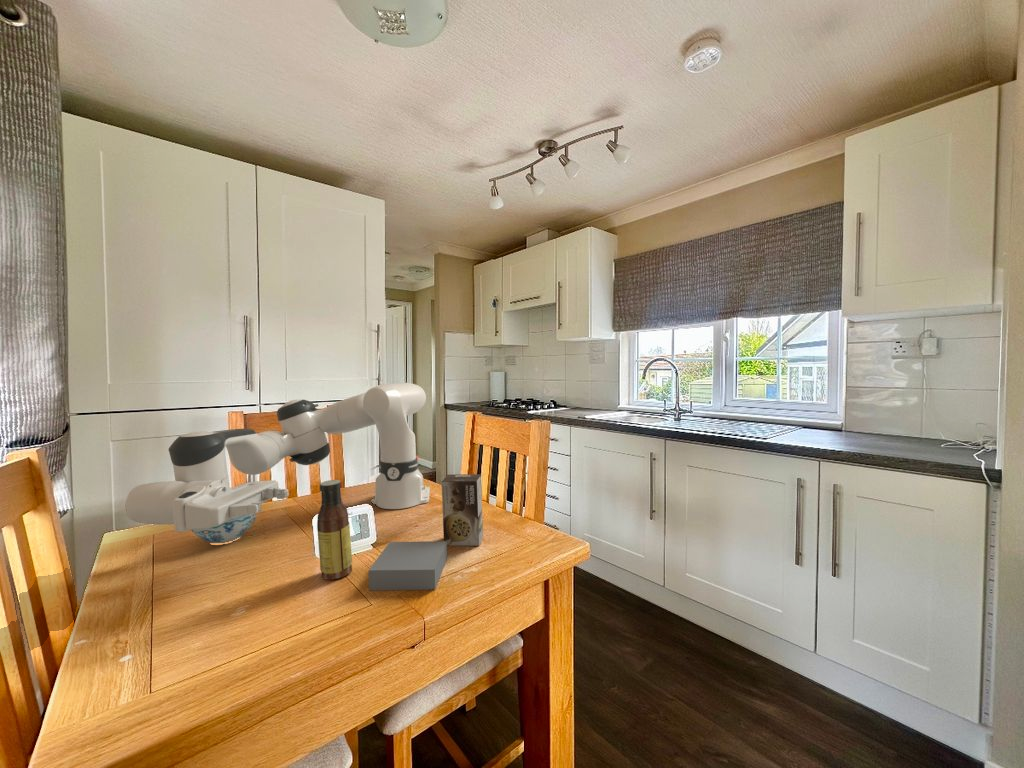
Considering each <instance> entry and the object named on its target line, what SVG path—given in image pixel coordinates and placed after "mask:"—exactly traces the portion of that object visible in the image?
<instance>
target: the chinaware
mask: <svg viewBox="0 0 1024 768" xmlns="http://www.w3.org/2000/svg"><path fill="white" fill-rule="evenodd" d="M257 515H258V513H256V514H247V515H243V516H238V517H235V518H233V519H231V520H229V521H227V522H225V523H223V524H221V525H219V526H216V527H212V528H207V529H193V530H191V531H192V533H193V534H194V535H195V536H196V537H198V538H199V539H200V540H203V541H205V542H210V543H225V542H229V541H233V540H235V539H237V538H239V537H240V536H241V537H242V535H244V533H246V532H247V531H248V530H249V528H250V527H251V526H252V525H253V523H254V522H255V520H256V518H257Z"/></svg>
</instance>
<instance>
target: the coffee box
mask: <svg viewBox="0 0 1024 768" xmlns="http://www.w3.org/2000/svg"><path fill="white" fill-rule="evenodd" d="M440 485H441V498H442V499H441V500H442V501H441V502H442V503H441V505H442V528H443V529H442V533H443V541H447V546H457V547H458V546H461V547H462V546H465V547H467V546H468V547H472V546H473V547H479V546H480V545H481V544H482V543H481V542H482V540H483V538H484V523H483V522H484V521H483V520H484V518H483V517H484V516H483V493H482V492H483V491H482V473H480V474H479V473H477V474H473V473H472V474H467V473H466V474H465V473H464V474H447V475H445V477H444V478H443V480H441V482H440Z"/></svg>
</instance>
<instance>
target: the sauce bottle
mask: <svg viewBox="0 0 1024 768" xmlns="http://www.w3.org/2000/svg"><path fill="white" fill-rule="evenodd" d="M341 481H342V480H340V479H331V480H329V479H328V480H325V481H322V482H321V483H320V484H319V491H320V493H321V495H320V496H321V505H320V509H319V512H318V514H317V523H316V524H317V525H316V527H317V528H316V530H317V541H318V542H317V544H318V553H319V555H318V556H319V566H320V567H319V568H320V569H319V570H320V572H321V577H322V578H323V579H325V580H330V581H334V580H338V579H342V578H345V577H347V576H349V574H350V573H351V572H352V571H353V570H352V569H353V565H352V564H353V554H352V542H351V527H350V521H349V512H348V508H347V507H346V505H345V504H344V503H343V501H342V499H343V498H342V495H341V494H342V493H341V488H342V483H341Z"/></svg>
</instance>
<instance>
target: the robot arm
mask: <svg viewBox="0 0 1024 768" xmlns="http://www.w3.org/2000/svg"><path fill="white" fill-rule="evenodd" d="M426 402H427V394H426V391H425V390H424V389H423V388H422V387H421V386H420V385H418V384H416V383H412V382H396V383H393V382H392V383H383V384H378V385H376V386H374V387H371V388H370V389H368V390H367V391H366V392H363V393H360V394H357V395H354V396H351V397H346V398H345V399H341V400H339V401H337V402H334V403H333V404H330V405H329V406H327V407H324V408H322V409H318V407H320V406H319V404H318V403H316V404H314V403H313V402H311V401H309V400H307V399H293V400H289V401H287V402H285V403H284V404H282V406H280V407H279V408H278V409H277V411H276V417H277V421H278V422H279V424H280V427H281V430H282V431H280V430H272V429H271V430H265V431H261V432H256V431H255V430H254V429H251V428H234V429H224V430H223V429H222V430H217V431H205V430H204V431H203V430H201V431H193V432H188V433H185V434H184V433H183V434H182V435H180V436H178V437H177V438H176V439H175V440H174V441H173V442H172V443H171V445H170V446H169V447H168V452H169V456H170V457H169V458H170V460H171V464H172V466H173V467H172V468H173V474H174V480H170V481H160V482H159V481H156V482H151V483H143V484H139V485H137V486H135V487H133V488H132V489H131V490H130V492H128V494H127V496H126V500H125V511H126V515H127V516H128V518H129V519H130V520H131V521H132V522H135V523H139V524H145V525H173V526H174V531H175V532H176V533H183V532H184V533H185V532H188V531H192V530H193V529H207V528H212V527H216V526H219V525H221V524H223V523H225V522H227V521H229V520H231V519H233V518H235V517H238V516H243V515H247V514H256V513H257V514H258V513H260V512H261V511H262V504H264V503H266V502H268V501H270V500H272V499H273V498H275V499H277V500H280V499H282V500H284V499H287V498H288V497H289V495H290V493H289V489H288V488H279V482H278V481H277V480H260V481H259V480H258V481H257V480H256V481H248V482H245V483H244V482H243V483H241V484H239V485H236V486H234V487H231V486H230V480H229V473H228V468H227V467H228V466H227V460H226V459H227V458H226V450H227V453H228V456H229V460H230V463H231V465H232V466H233V467H234V469H235V470H237V472H240V473H242V474H245V475H248V476H256V475H260V474H264V473H265V472H267V471H269V470H271V469H272V468H274V467H275V466H276V465H277V464H279V463H280V462H281V461H283V459H285V458H287V457H290V458H289V462H290V463H291V462H293V463H296V464H298V465H301V466H311V465H316V464H318V463H321V462H322V461H324V460H325V459H326V458H328V456H329V455H330V453H331V446H330V443H329V442H328V439H327V436H326V434H330V435H333V434H334V435H337V434H345V433H350V432H354V431H358V430H360V429H363V428H364V429H365V428H367V427H371V426H376V427H375V428H376V429H377V433H378V437H379V447H380V460H379V466H378V468H379V472H380V474H379V475H378V476H376V477H375V488H374V489H375V490H374V498H372V499H370V503H371V502H372V503H373V504H372V503H371V504H372V505H375V504H376V505H375V506H377V507H378V508H381V509H385V510H401V509H406V508H412V507H414V506H418V505H421V504H426V503H429V502H430V494H431V492H430V491H431V490H430V488H431V487H429V486H425V485H424V475H423V474H422V472H421V471H420V470H419V456H418V455H417V448H416V446H417V443H416V435H415V432H414V431H413V430H411V428H410V426H409V424H408V420H407V416H408V417H409V416H411V415H414V414H416V413H417V412H419V411H420V410H422V409H423V408H424V406H425V405H426Z"/></svg>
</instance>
